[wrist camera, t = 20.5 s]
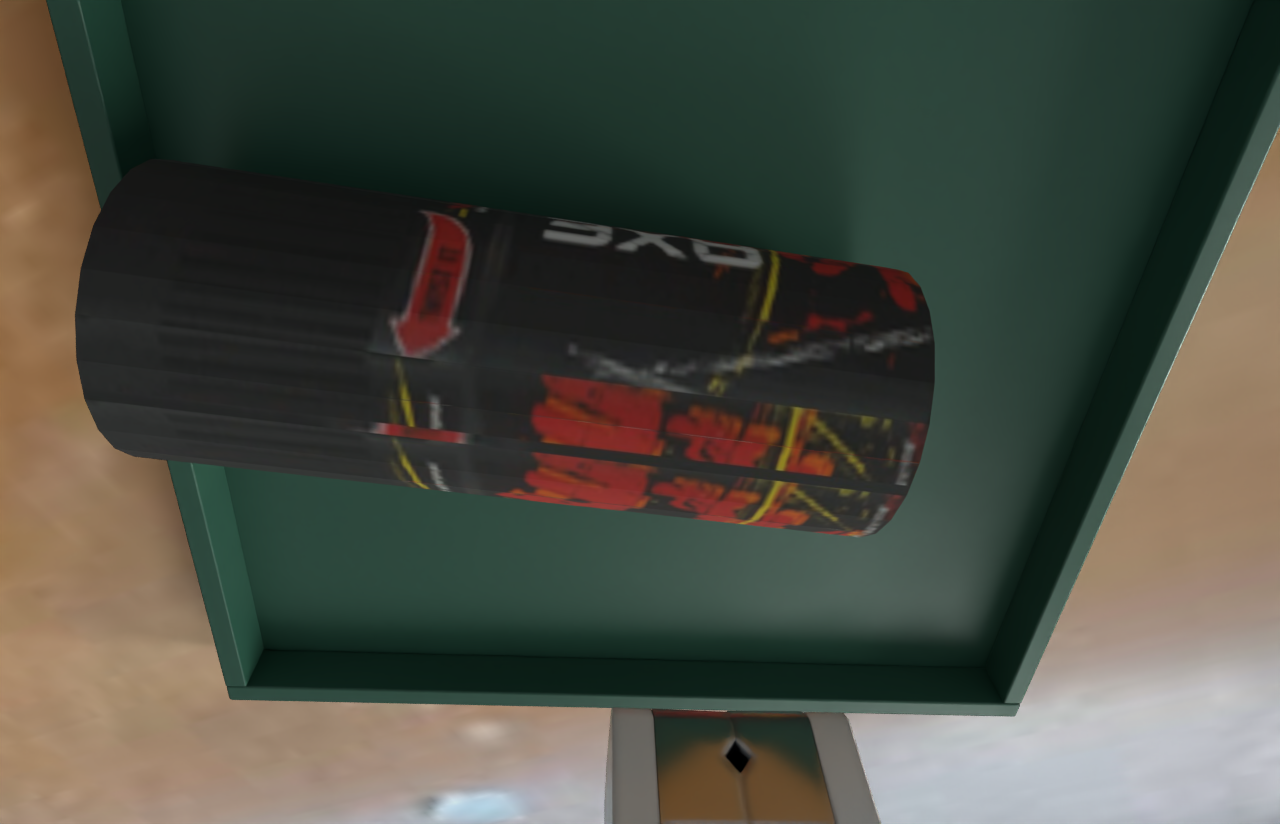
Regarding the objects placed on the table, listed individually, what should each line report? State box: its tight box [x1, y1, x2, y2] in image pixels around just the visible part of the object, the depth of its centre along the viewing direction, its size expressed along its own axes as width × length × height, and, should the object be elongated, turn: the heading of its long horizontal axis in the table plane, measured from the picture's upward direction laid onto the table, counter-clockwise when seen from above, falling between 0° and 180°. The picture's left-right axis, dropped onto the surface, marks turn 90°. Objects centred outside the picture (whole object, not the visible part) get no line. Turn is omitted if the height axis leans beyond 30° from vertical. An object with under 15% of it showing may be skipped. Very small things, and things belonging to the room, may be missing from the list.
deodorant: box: [75, 159, 935, 537], centre depth 17 cm, size 6×6×15 cm
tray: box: [46, 0, 1280, 716], centre depth 20 cm, size 23×24×2 cm
